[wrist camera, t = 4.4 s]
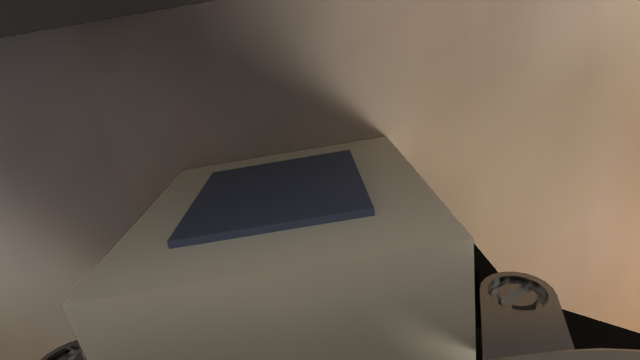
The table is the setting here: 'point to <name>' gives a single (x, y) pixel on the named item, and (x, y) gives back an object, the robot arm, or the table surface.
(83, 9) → the long grey slat
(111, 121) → the table surface
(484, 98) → the table surface
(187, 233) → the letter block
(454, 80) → the table surface
